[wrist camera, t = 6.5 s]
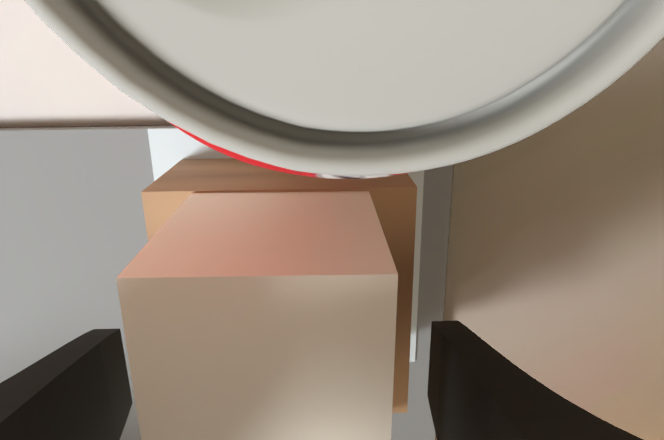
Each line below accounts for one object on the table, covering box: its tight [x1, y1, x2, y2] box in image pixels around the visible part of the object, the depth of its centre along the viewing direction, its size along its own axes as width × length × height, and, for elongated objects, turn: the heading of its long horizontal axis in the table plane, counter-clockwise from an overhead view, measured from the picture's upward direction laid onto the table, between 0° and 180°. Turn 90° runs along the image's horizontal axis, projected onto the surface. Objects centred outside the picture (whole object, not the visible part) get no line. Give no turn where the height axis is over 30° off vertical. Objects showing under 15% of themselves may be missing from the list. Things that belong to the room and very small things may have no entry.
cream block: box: [116, 191, 398, 440], centre depth 12 cm, size 7×4×5 cm, turn 0°
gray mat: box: [0, 126, 454, 440], centre depth 19 cm, size 18×17×1 cm
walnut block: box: [141, 158, 417, 413], centre depth 16 cm, size 7×7×4 cm
